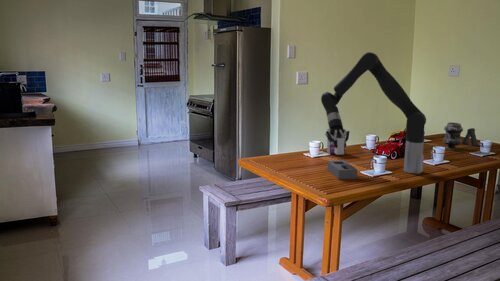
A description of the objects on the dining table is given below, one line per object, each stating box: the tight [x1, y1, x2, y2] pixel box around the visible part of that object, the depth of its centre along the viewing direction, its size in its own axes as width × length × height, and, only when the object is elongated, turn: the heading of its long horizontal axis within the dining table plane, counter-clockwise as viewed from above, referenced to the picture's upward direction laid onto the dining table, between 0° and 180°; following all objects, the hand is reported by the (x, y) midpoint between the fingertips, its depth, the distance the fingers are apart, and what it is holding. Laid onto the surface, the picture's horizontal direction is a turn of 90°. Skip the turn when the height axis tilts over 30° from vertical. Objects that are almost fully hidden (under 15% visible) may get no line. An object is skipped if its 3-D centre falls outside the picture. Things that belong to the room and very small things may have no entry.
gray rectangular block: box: [334, 137, 346, 155], centre depth 232 cm, size 4×4×9 cm
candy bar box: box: [326, 128, 347, 155], centre depth 278 cm, size 11×5×16 cm, turn 105°
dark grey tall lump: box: [442, 121, 464, 151], centre depth 291 cm, size 12×12×18 cm
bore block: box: [326, 160, 358, 180], centre depth 229 cm, size 10×20×5 cm, turn 7°
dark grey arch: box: [461, 127, 479, 147], centre depth 305 cm, size 9×6×12 cm, turn 40°
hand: (340, 147), depth 230 cm, fingers closed on gray rectangular block, 4 cm apart
